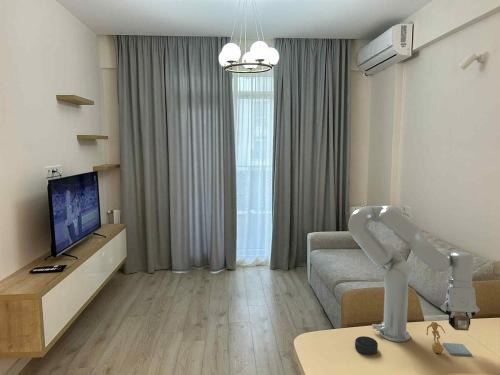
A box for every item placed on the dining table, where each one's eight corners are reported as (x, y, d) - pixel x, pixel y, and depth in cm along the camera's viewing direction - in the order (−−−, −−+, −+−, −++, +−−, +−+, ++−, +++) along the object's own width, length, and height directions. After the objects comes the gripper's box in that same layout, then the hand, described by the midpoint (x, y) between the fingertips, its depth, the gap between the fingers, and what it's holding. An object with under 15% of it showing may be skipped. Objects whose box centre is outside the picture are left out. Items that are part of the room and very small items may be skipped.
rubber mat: (450, 354, 148) (450, 352, 148) (442, 344, 156) (442, 342, 156) (471, 356, 148) (471, 354, 147) (462, 345, 155) (462, 343, 155)
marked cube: (455, 330, 148) (456, 318, 148) (450, 324, 154) (450, 312, 153) (468, 330, 148) (469, 318, 147) (462, 324, 153) (463, 313, 153)
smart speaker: (350, 347, 154) (350, 337, 154) (367, 342, 158) (367, 333, 157) (364, 357, 146) (365, 348, 146) (382, 353, 150) (382, 343, 149)
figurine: (431, 356, 147) (432, 327, 146) (421, 348, 153) (423, 320, 152) (449, 354, 149) (451, 325, 148) (439, 346, 155) (441, 319, 153)
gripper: (442, 285, 146) (440, 329, 148) (488, 286, 145) (486, 331, 146) (435, 279, 154) (433, 321, 155) (478, 280, 152) (476, 323, 154)
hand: (459, 325), depth 151 cm, fingers closed on marked cube, 5 cm apart
